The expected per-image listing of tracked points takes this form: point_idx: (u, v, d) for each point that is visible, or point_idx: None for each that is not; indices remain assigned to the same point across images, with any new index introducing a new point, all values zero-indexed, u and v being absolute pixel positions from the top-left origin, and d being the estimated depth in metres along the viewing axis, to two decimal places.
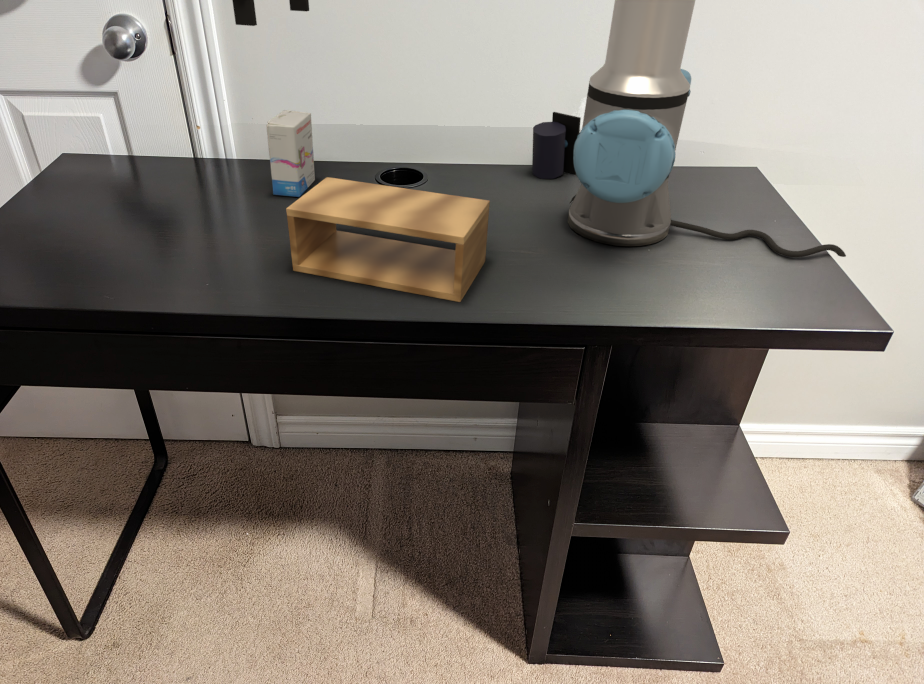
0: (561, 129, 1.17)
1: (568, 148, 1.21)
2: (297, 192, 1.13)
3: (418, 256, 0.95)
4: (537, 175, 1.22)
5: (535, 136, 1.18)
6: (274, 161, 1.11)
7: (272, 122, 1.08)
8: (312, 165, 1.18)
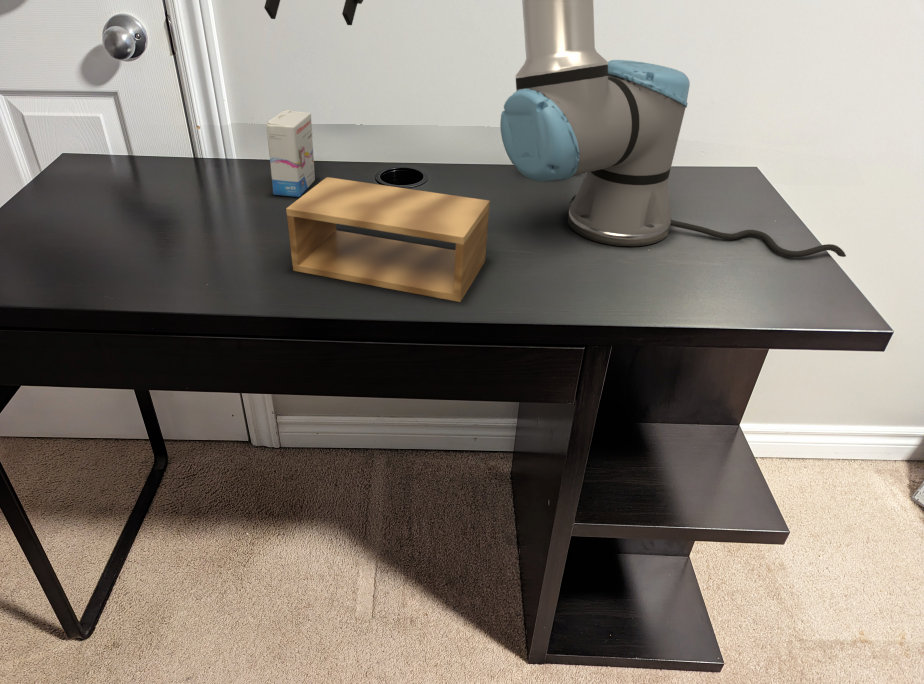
0: None
1: None
2: (297, 192, 1.13)
3: (418, 256, 0.95)
4: None
5: None
6: (274, 161, 1.11)
7: (272, 122, 1.08)
8: (312, 165, 1.18)
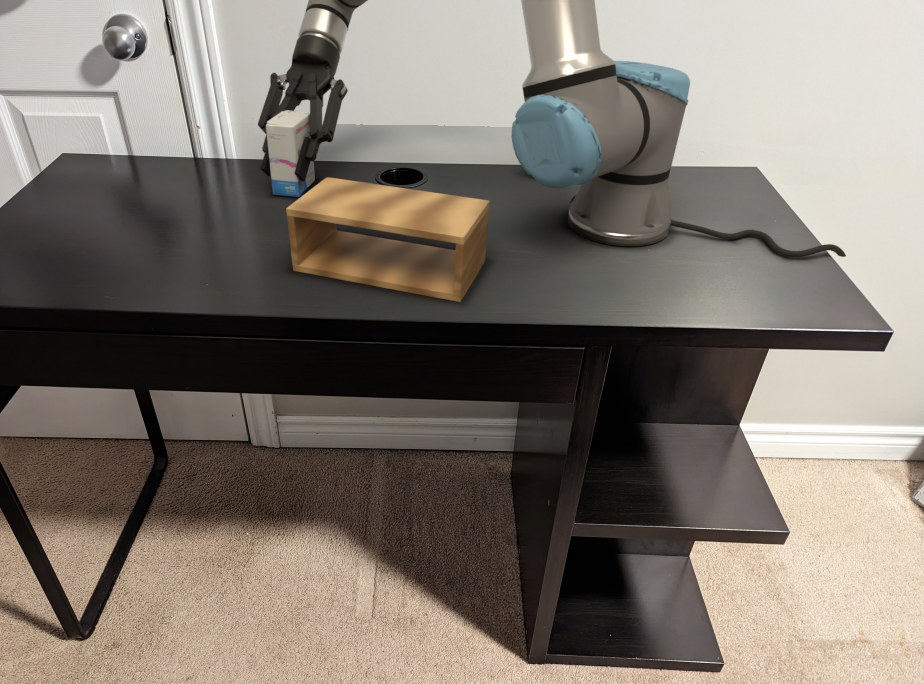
0: None
1: None
2: (297, 192, 1.13)
3: (418, 256, 0.95)
4: None
5: None
6: (273, 161, 1.11)
7: (272, 122, 1.08)
8: (312, 165, 1.18)
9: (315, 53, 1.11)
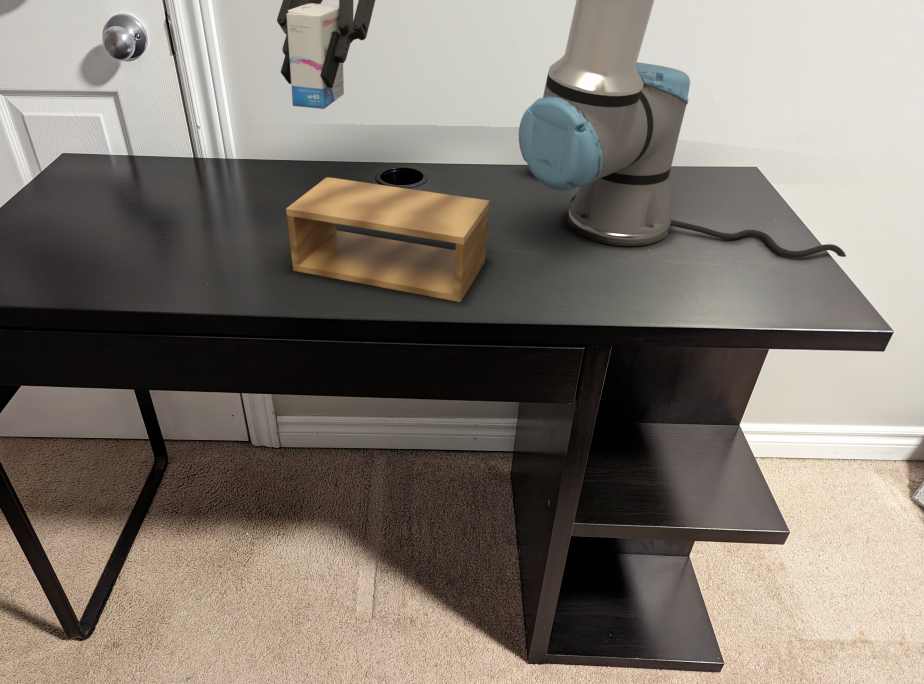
0: None
1: None
2: (321, 103, 0.94)
3: (418, 256, 0.95)
4: None
5: None
6: (294, 62, 0.91)
7: (294, 10, 0.88)
8: (341, 74, 0.98)
9: None
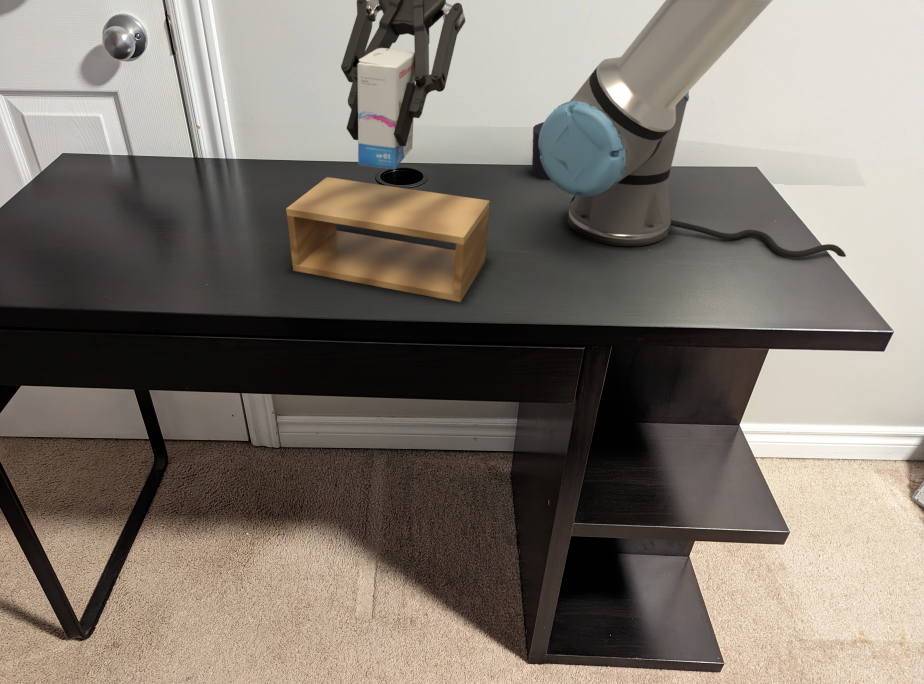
0: None
1: None
2: (392, 163, 0.81)
3: (418, 256, 0.95)
4: (537, 175, 1.22)
5: (535, 136, 1.18)
6: (364, 117, 0.79)
7: (366, 60, 0.76)
8: (411, 127, 0.86)
9: None
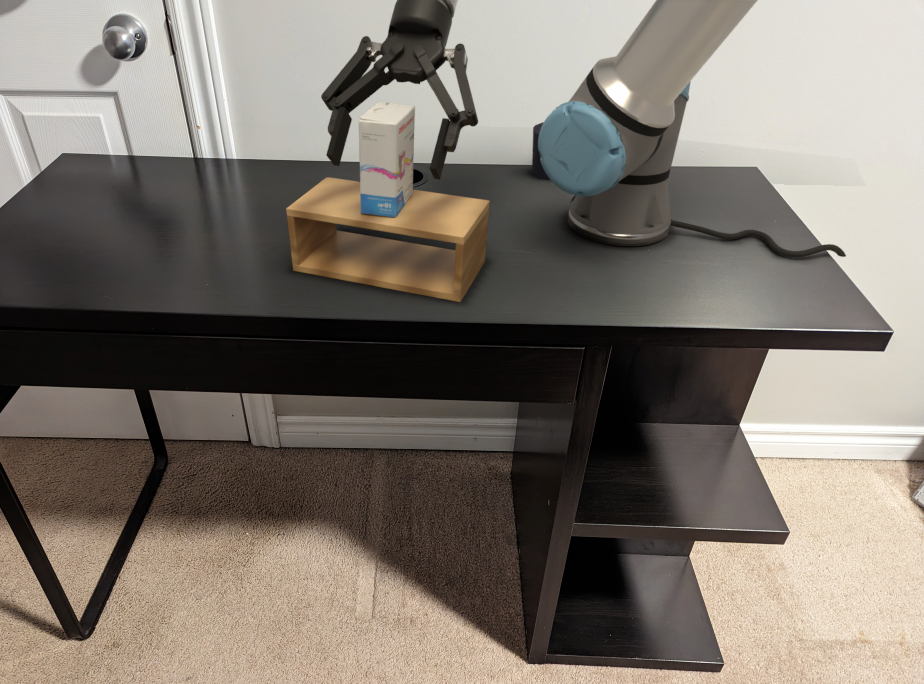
0: None
1: None
2: (393, 211, 0.85)
3: (418, 256, 0.95)
4: (537, 175, 1.22)
5: (535, 136, 1.18)
6: (365, 170, 0.83)
7: (367, 117, 0.80)
8: (411, 175, 0.89)
9: (424, 18, 0.82)
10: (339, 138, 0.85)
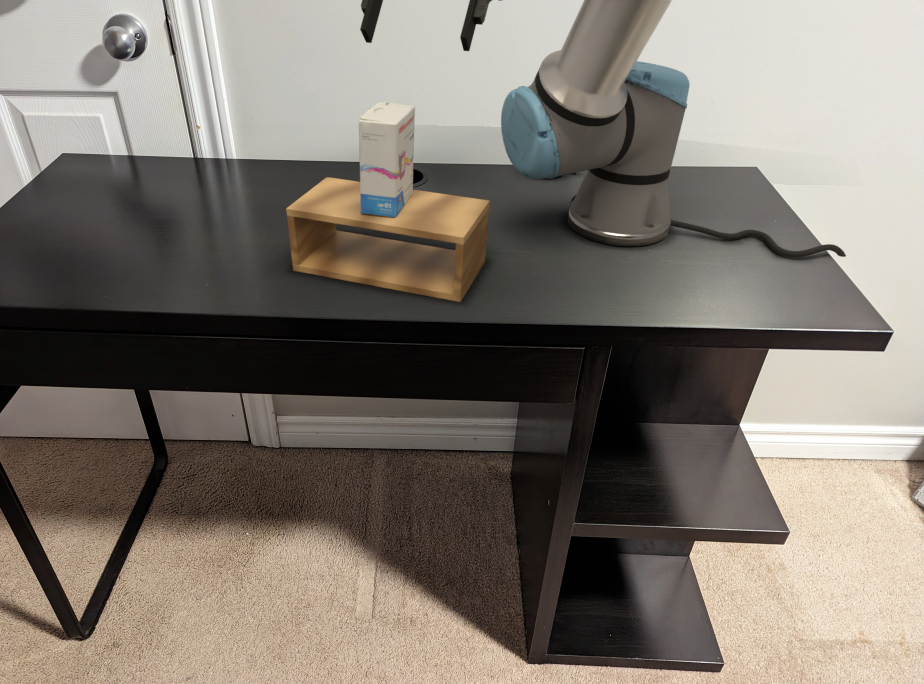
0: None
1: None
2: (393, 211, 0.85)
3: (418, 256, 0.95)
4: None
5: None
6: (365, 170, 0.83)
7: (367, 117, 0.80)
8: (411, 175, 0.89)
9: None
10: (372, 14, 0.90)
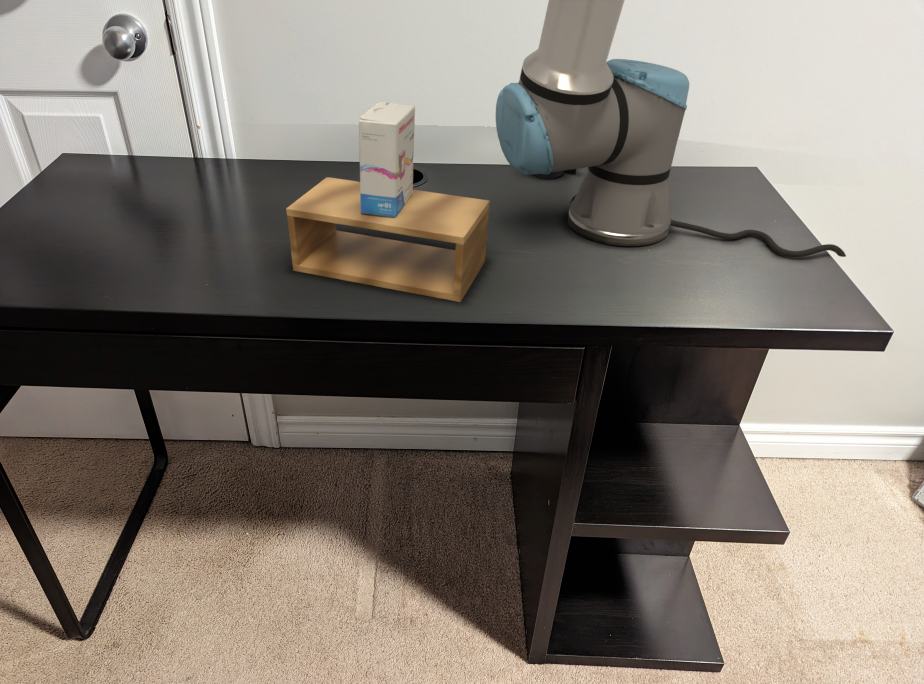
0: None
1: None
2: (393, 211, 0.85)
3: (418, 256, 0.95)
4: (537, 175, 1.22)
5: None
6: (365, 170, 0.83)
7: (367, 117, 0.80)
8: (411, 175, 0.89)
9: None
10: None
